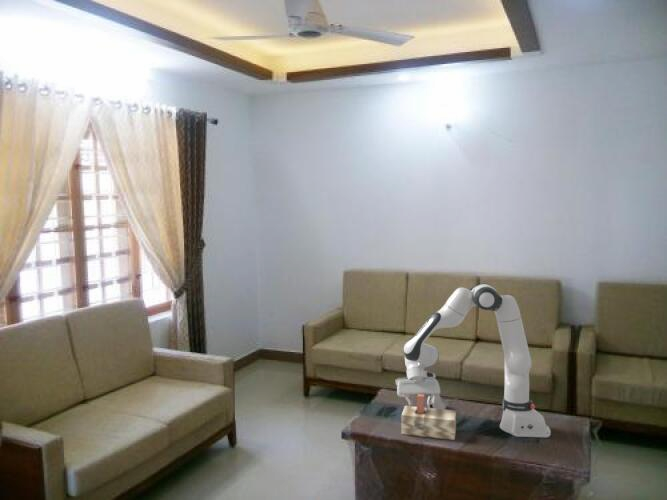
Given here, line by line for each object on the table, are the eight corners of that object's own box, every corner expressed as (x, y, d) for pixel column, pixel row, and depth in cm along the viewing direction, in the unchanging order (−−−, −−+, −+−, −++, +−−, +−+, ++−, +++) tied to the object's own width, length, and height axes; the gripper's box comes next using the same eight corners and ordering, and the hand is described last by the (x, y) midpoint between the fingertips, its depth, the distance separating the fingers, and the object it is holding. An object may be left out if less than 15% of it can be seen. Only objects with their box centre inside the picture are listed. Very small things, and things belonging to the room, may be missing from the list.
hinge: (441, 418, 275) (434, 399, 275) (432, 420, 277) (425, 401, 277) (446, 406, 291) (439, 388, 291) (437, 408, 292) (431, 390, 293)
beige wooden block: (455, 429, 263) (456, 410, 262) (454, 440, 251) (454, 420, 250) (404, 423, 269) (405, 405, 268) (401, 434, 257) (401, 415, 256)
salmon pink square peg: (423, 423, 262) (424, 394, 261) (423, 426, 259) (423, 396, 258) (417, 422, 263) (417, 393, 261) (416, 425, 260) (417, 396, 258)
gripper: (395, 374, 265) (399, 402, 257) (438, 373, 267) (443, 401, 258) (394, 380, 270) (397, 408, 261) (435, 379, 271) (440, 406, 263)
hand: (420, 404), depth 260 cm, fingers open, 8 cm apart
